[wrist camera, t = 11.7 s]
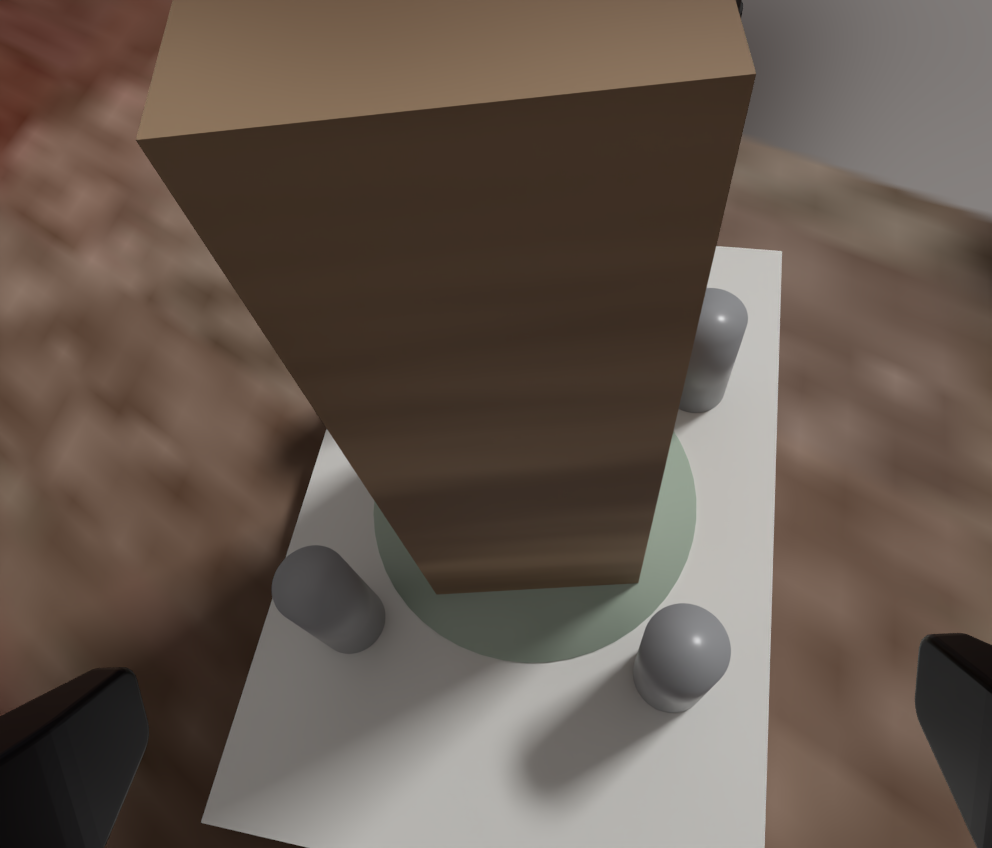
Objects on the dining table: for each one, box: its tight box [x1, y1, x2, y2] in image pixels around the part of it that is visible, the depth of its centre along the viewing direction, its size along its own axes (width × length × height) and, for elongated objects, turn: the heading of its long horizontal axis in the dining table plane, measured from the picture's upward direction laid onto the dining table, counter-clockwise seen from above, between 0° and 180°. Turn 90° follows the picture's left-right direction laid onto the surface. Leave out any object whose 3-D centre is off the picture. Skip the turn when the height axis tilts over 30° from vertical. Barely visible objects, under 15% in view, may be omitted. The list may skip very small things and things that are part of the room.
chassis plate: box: [201, 246, 782, 848], centre depth 17 cm, size 16×11×4 cm
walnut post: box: [136, 0, 756, 595], centre depth 12 cm, size 4×4×13 cm
